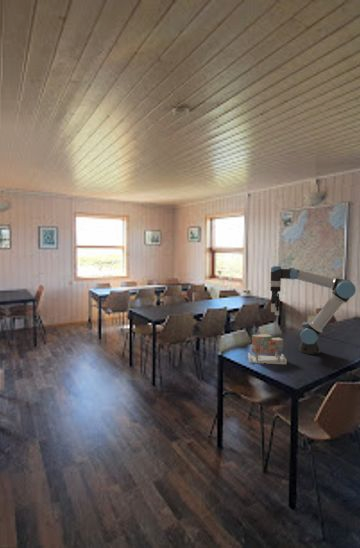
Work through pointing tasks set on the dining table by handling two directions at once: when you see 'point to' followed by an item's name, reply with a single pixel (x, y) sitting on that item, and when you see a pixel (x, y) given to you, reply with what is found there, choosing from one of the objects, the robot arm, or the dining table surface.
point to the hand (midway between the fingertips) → (274, 313)
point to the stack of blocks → (266, 344)
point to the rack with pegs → (267, 359)
